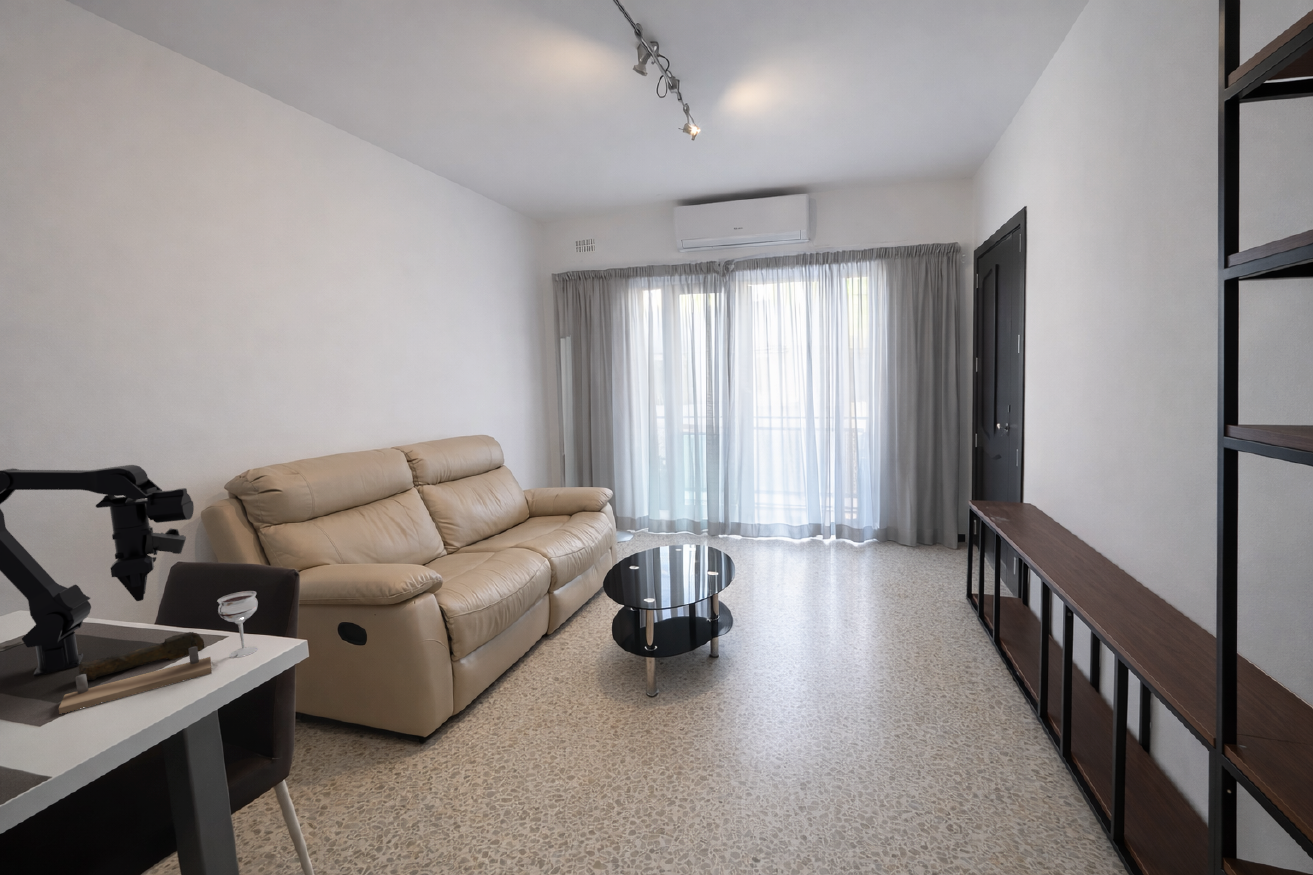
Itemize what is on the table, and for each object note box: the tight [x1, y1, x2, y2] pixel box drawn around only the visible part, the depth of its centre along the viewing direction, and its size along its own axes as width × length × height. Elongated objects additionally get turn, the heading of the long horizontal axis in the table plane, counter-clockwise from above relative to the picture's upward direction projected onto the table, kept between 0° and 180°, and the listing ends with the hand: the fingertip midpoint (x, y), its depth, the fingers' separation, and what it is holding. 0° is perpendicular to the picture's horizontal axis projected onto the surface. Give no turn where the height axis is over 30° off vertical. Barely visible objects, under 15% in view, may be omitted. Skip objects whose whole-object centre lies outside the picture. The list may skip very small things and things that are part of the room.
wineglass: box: [216, 590, 259, 659], centre depth 122 cm, size 7×7×12 cm
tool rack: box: [58, 646, 212, 715], centre depth 109 cm, size 6×21×4 cm, turn 128°
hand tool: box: [78, 631, 205, 681], centre depth 118 cm, size 19×4×5 cm, turn 129°
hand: (140, 597), depth 123 cm, fingers open, 5 cm apart
